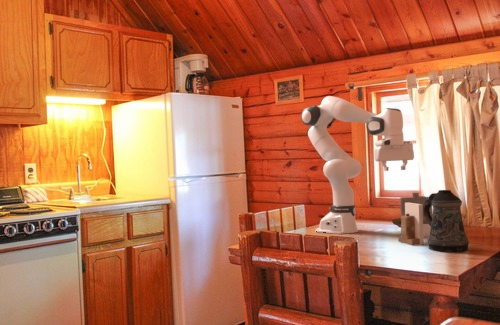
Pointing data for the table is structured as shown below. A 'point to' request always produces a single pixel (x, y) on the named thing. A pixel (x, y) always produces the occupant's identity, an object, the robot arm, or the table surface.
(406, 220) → the cabinet block
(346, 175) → the robot arm
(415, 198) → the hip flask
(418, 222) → the wall board
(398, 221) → the wood carving
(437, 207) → the beer stein
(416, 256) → the table surface
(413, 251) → the table surface
